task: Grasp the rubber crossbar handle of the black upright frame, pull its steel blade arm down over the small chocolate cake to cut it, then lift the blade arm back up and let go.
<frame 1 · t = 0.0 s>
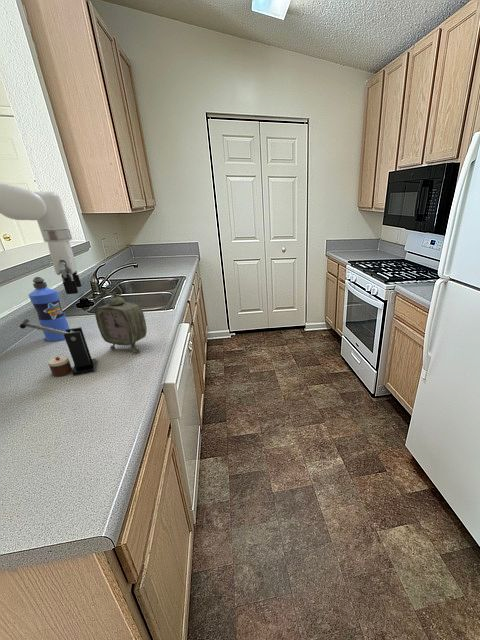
hand: (74, 290, 111), 25 cm above the counter, tool pointing down, fingers open, 9 cm apart
cake: (62, 372, 111), on the counter
tabletop clock: (130, 349, 128), on the counter
blue bottle: (59, 337, 140), on the counter
black upright frame: (85, 368, 114), on the counter
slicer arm: (51, 330, 105), point 15 cm above the counter, hinge at 28.0°
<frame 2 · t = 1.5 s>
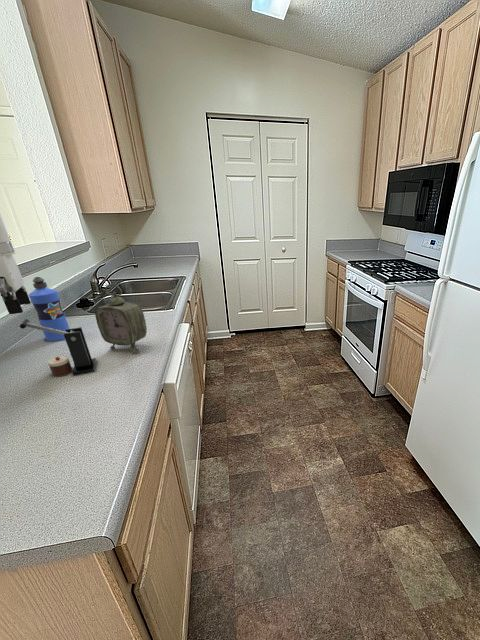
hand: (20, 308, 100), 23 cm above the counter, tool pointing down, fingers open, 9 cm apart
nothing on the counter moved.
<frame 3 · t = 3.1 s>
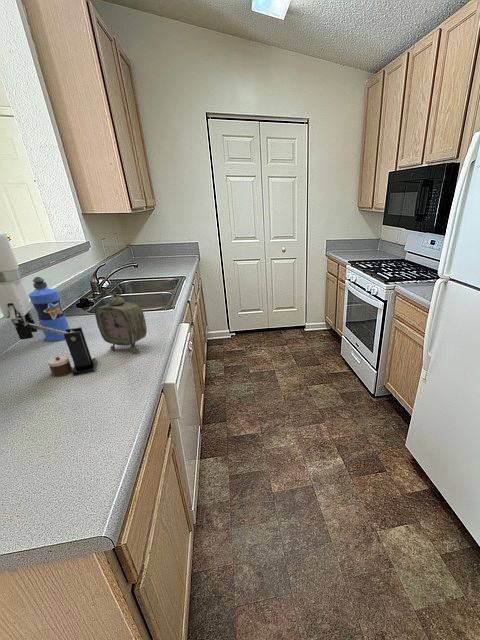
hand: (29, 334, 103), 15 cm above the counter, tool pointing down, fingers closed on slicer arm, 5 cm apart
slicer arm: (51, 330, 105), point 15 cm above the counter, hinge at 28.0°, touching gripper
everything else where it was.
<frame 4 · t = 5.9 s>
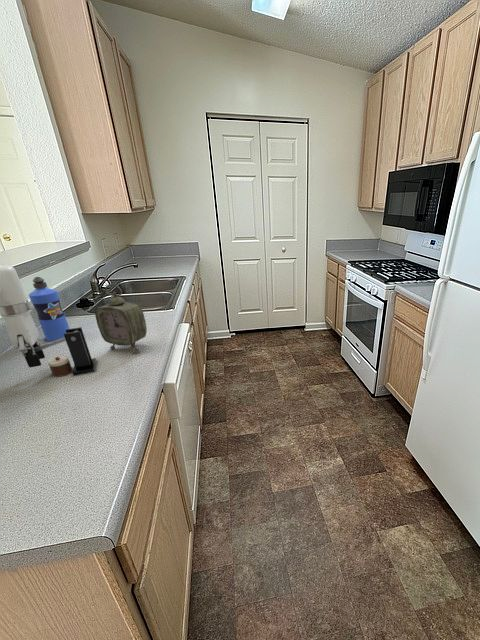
hand: (37, 361, 107), 5 cm above the counter, tool pointing down, fingers closed on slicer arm, 5 cm apart
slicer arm: (54, 342, 107), point 11 cm above the counter, hinge at -12.9°, touching gripper
everything else where it was.
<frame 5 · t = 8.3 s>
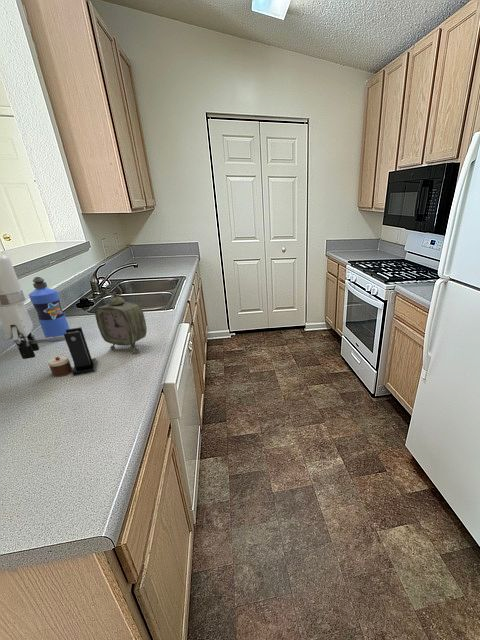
hand: (31, 353, 105), 8 cm above the counter, tool pointing down, fingers closed on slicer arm, 5 cm apart
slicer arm: (52, 338, 106), point 12 cm above the counter, hinge at 0.6°, touching gripper
everything else where it was.
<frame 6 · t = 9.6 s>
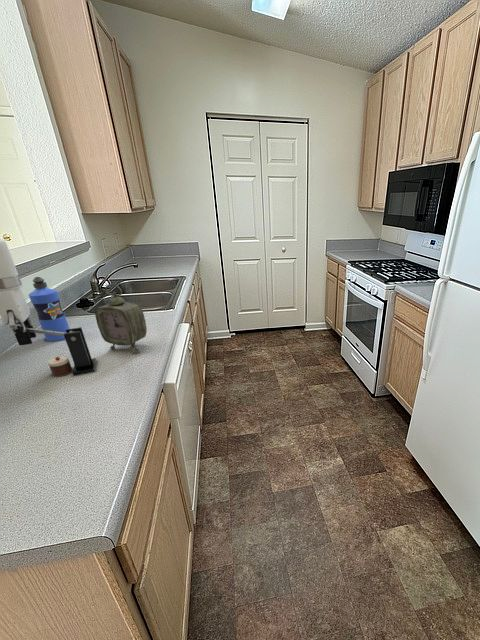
hand: (28, 340, 103), 13 cm above the counter, tool pointing down, fingers closed on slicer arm, 5 cm apart
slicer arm: (51, 332, 105), point 14 cm above the counter, hinge at 19.8°, touching gripper
everything else where it was.
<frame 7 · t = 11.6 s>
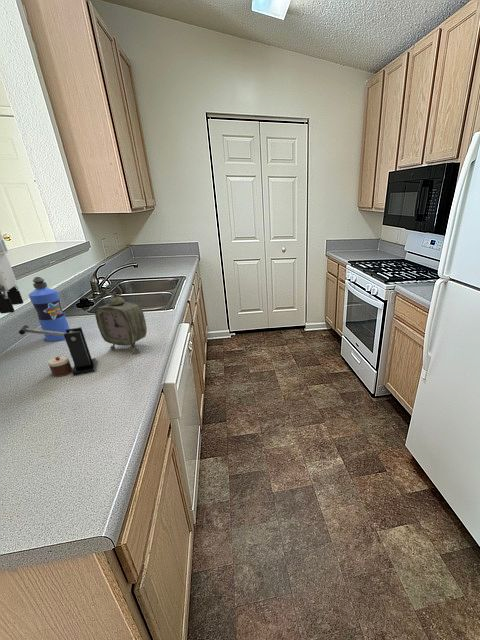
hand: (12, 308, 99), 23 cm above the counter, tool pointing down, fingers open, 9 cm apart
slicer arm: (51, 333, 105), point 14 cm above the counter, hinge at 19.3°
everything else where it was.
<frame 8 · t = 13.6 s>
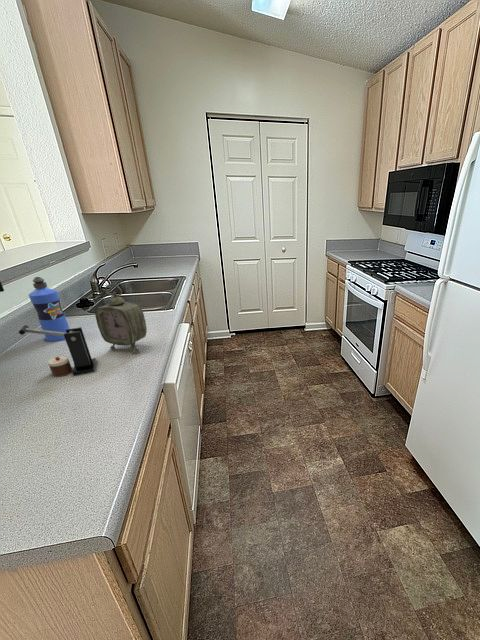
nothing on the counter moved.
at the end: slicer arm reached -22° during the clip, +19° at the end; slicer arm at +19° (first picture: +28°) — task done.
